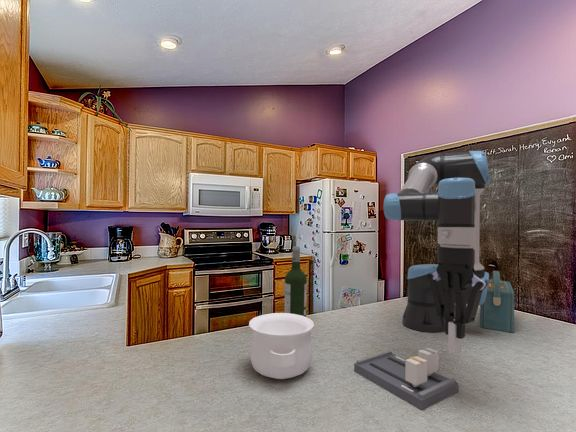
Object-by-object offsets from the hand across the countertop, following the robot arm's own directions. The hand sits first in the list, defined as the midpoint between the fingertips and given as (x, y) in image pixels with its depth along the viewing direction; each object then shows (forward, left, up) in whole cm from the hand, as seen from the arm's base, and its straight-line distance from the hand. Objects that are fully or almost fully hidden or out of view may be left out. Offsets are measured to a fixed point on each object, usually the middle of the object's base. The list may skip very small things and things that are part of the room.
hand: (454, 351), depth 72 cm
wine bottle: (-55, -6, -11) cm, 57 cm away
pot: (-32, -26, -11) cm, 43 cm away
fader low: (-5, -7, -8) cm, 12 cm away
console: (-11, -3, -11) cm, 16 cm away
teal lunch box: (-22, +69, -11) cm, 73 cm away
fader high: (-7, 0, -8) cm, 11 cm away
